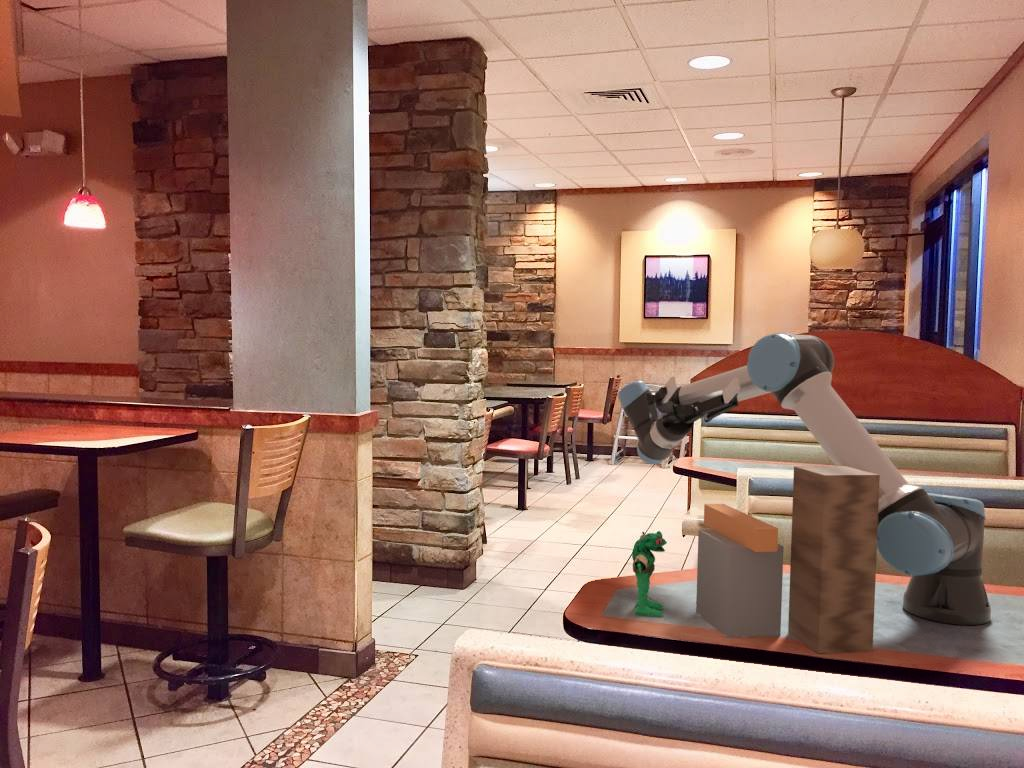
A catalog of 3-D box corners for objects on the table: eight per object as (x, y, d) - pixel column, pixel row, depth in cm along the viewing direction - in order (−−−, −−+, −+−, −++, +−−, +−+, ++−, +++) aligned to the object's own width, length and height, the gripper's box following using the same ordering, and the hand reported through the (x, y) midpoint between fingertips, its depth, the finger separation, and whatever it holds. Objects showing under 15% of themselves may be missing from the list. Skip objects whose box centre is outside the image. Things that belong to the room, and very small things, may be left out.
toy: (663, 635, 145) (665, 550, 144) (626, 631, 146) (628, 548, 145) (665, 592, 170) (667, 520, 169) (634, 590, 171) (636, 518, 171)
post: (839, 630, 149) (845, 466, 147) (872, 651, 139) (879, 474, 137) (788, 633, 147) (793, 466, 145) (818, 653, 137) (824, 475, 136)
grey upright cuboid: (744, 610, 159) (747, 528, 159) (780, 635, 146) (783, 546, 145) (696, 612, 158) (698, 529, 157) (727, 637, 144) (730, 547, 143)
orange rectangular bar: (722, 523, 163) (723, 503, 162) (777, 551, 141) (778, 528, 141) (703, 524, 162) (704, 504, 162) (755, 552, 140) (756, 528, 140)
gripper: (726, 441, 185) (767, 400, 167) (620, 441, 181) (649, 399, 163) (720, 411, 189) (759, 367, 170) (616, 410, 185) (644, 365, 166)
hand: (706, 382), depth 166 cm, fingers open, 13 cm apart
